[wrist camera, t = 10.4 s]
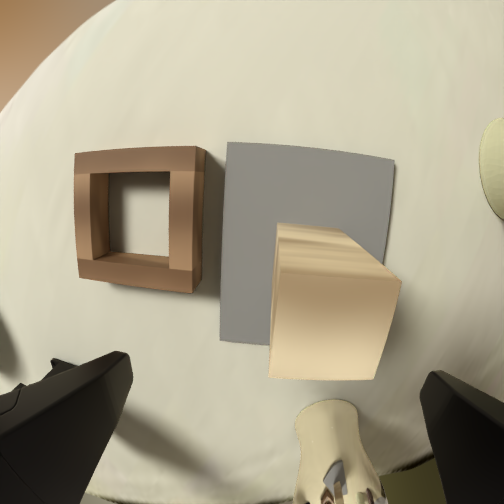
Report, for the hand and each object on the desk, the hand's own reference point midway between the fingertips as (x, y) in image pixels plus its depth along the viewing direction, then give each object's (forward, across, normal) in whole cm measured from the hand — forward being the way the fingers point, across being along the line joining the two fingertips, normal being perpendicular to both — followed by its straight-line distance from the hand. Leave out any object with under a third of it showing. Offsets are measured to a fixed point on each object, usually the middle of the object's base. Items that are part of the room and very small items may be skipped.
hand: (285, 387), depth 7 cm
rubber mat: (+13, -2, -1) cm, 13 cm away
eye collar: (+13, +10, -3) cm, 16 cm away
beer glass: (+13, -6, +15) cm, 21 cm away
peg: (+12, -2, -1) cm, 12 cm away
